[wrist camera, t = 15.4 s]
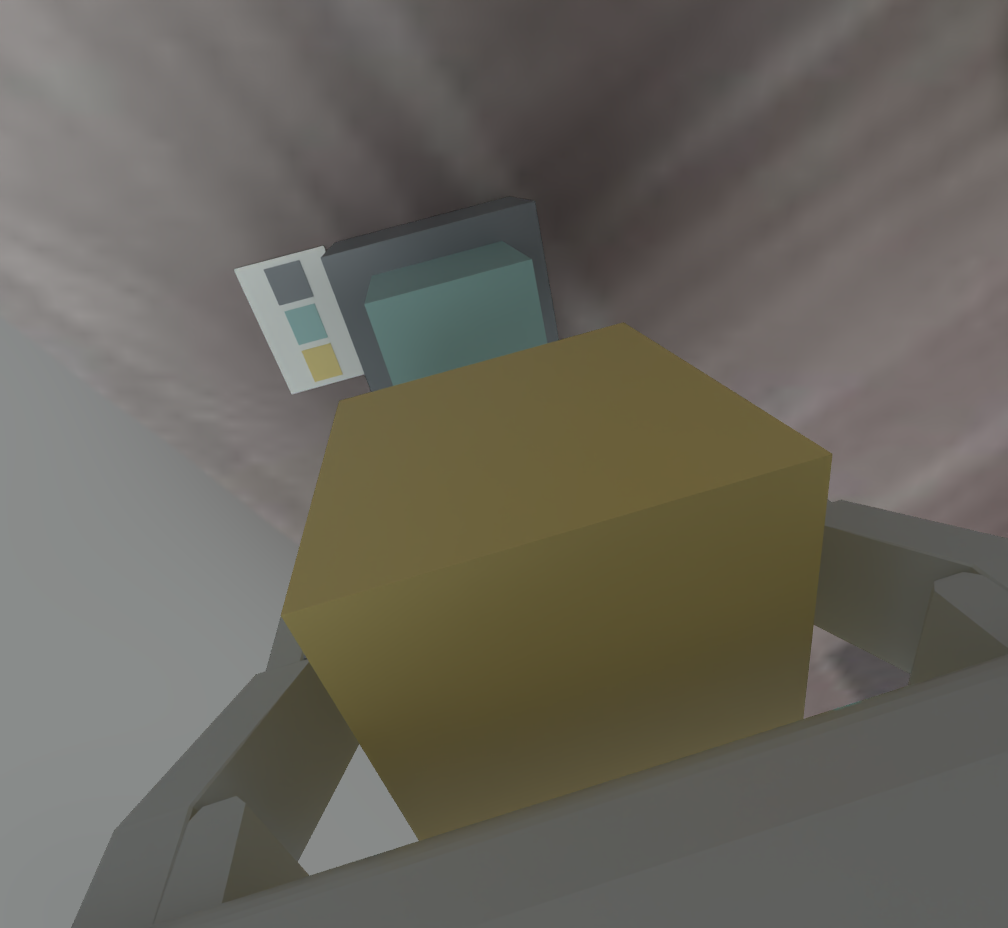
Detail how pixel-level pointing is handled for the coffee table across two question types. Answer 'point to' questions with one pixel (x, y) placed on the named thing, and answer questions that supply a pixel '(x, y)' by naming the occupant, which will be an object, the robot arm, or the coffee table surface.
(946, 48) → the coffee table surface
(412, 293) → the brick teal
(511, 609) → the brick mustard
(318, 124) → the coffee table surface
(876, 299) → the coffee table surface
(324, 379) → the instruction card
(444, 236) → the tower base
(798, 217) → the coffee table surface
